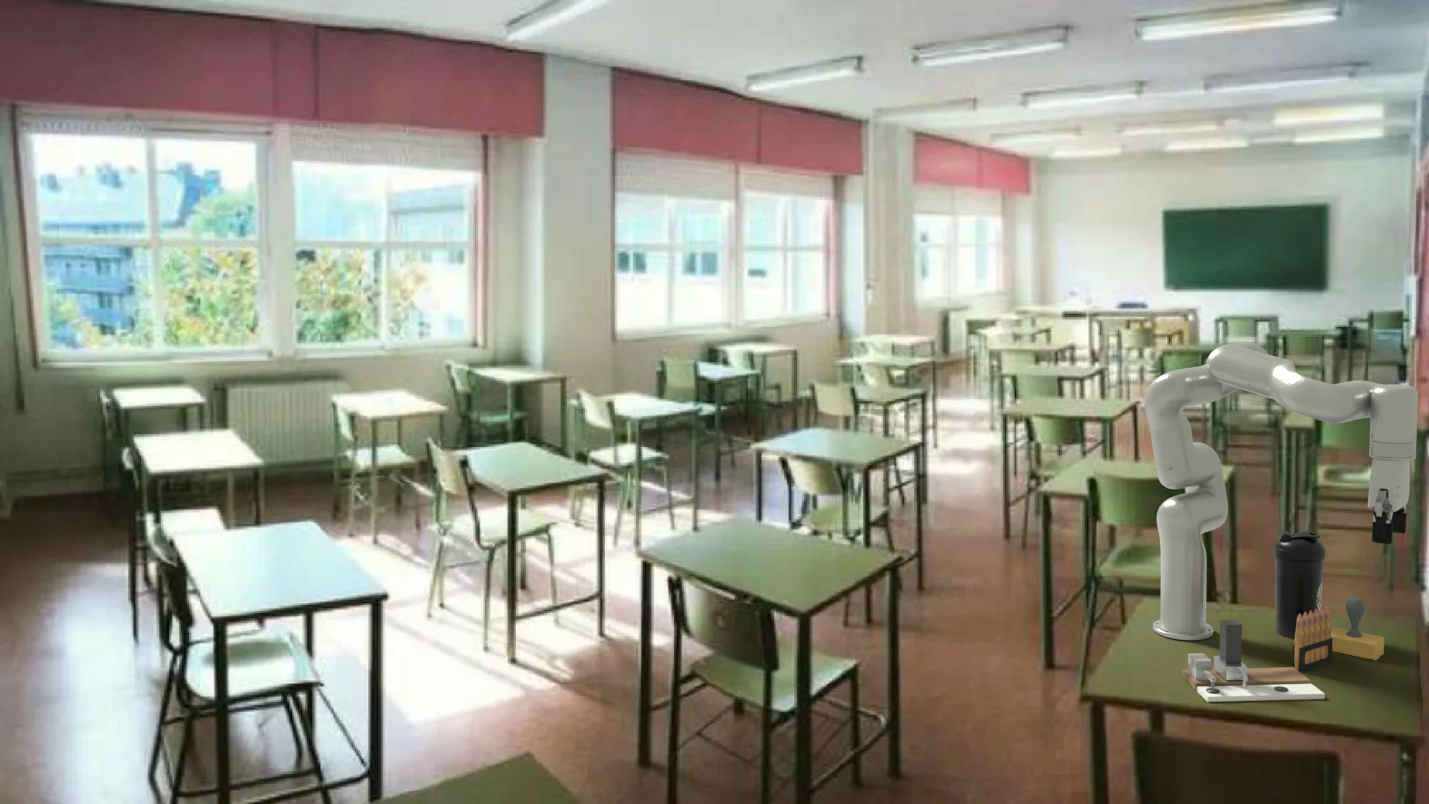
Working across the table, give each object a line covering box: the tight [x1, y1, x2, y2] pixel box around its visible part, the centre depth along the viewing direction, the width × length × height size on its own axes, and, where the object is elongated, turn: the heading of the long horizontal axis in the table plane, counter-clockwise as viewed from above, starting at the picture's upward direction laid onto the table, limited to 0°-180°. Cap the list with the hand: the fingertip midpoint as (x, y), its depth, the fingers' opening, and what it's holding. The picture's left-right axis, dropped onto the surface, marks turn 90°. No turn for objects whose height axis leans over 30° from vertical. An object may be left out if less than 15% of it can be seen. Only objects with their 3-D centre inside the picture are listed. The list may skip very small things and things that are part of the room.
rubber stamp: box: [1331, 596, 1385, 661], centre depth 232 cm, size 10×6×12 cm, turn 43°
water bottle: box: [1272, 530, 1327, 640], centre depth 243 cm, size 10×10×23 cm
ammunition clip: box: [1291, 605, 1334, 673], centre depth 225 cm, size 11×2×12 cm, turn 117°
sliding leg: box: [1213, 619, 1248, 687], centre depth 216 cm, size 10×4×11 cm, turn 178°
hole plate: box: [1196, 683, 1326, 703], centre depth 212 cm, size 5×22×1 cm, turn 88°
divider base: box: [1182, 652, 1311, 692], centre depth 217 cm, size 10×22×6 cm, turn 88°
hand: (1388, 537), depth 210 cm, fingers open, 9 cm apart
